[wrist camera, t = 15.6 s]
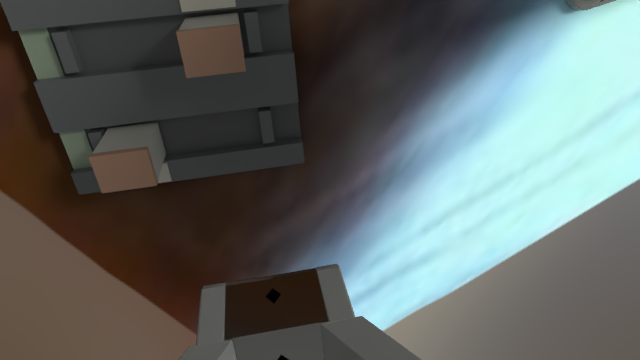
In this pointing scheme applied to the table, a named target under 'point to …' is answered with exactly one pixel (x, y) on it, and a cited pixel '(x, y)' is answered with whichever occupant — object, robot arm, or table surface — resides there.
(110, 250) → the table surface
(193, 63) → the tab
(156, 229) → the table surface
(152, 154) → the tab
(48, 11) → the switch bank
